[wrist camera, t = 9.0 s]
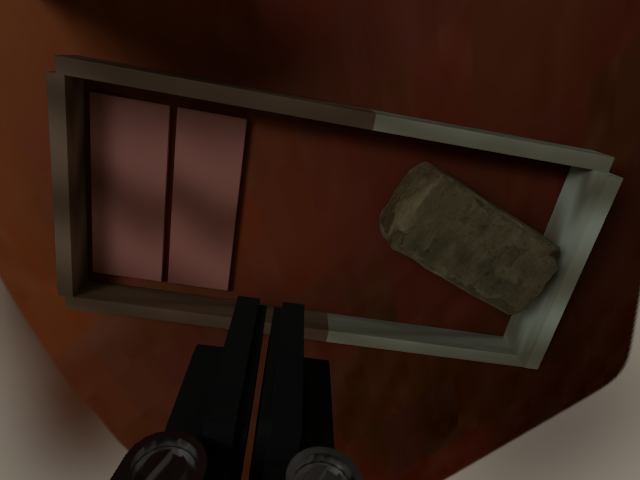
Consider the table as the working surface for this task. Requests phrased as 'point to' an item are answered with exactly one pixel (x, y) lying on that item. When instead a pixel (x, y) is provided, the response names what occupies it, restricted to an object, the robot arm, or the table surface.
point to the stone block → (467, 239)
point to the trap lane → (222, 201)
